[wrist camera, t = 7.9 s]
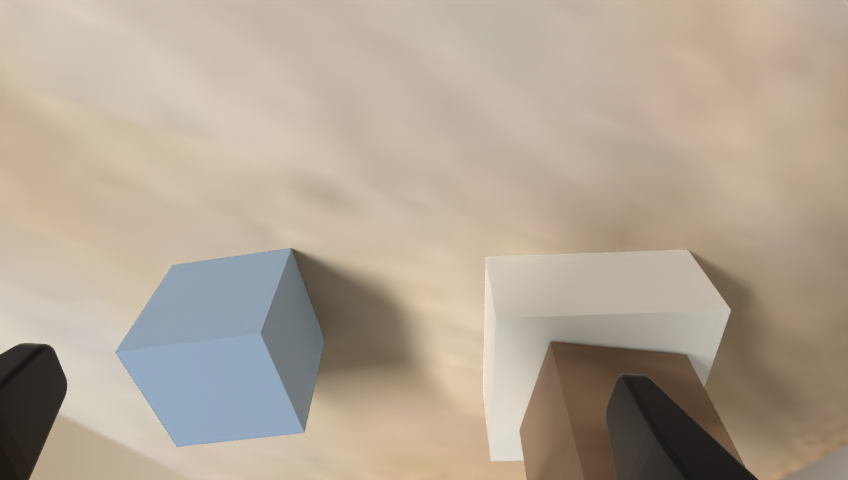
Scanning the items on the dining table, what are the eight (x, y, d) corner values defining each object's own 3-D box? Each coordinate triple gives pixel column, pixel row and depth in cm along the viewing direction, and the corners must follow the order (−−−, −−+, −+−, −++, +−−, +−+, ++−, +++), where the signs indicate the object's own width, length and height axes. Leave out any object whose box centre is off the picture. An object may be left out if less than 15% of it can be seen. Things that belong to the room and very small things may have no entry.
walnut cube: (687, 354, 20) (772, 519, 15) (639, 440, 23) (698, 603, 18) (549, 341, 19) (591, 505, 14) (519, 430, 22) (544, 592, 17)
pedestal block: (684, 244, 22) (731, 310, 19) (648, 382, 27) (681, 455, 23) (484, 252, 22) (496, 318, 19) (482, 388, 27) (491, 461, 23)
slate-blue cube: (291, 247, 22) (260, 333, 18) (325, 338, 25) (304, 432, 20) (173, 264, 22) (114, 352, 18) (218, 352, 25) (176, 446, 21)
